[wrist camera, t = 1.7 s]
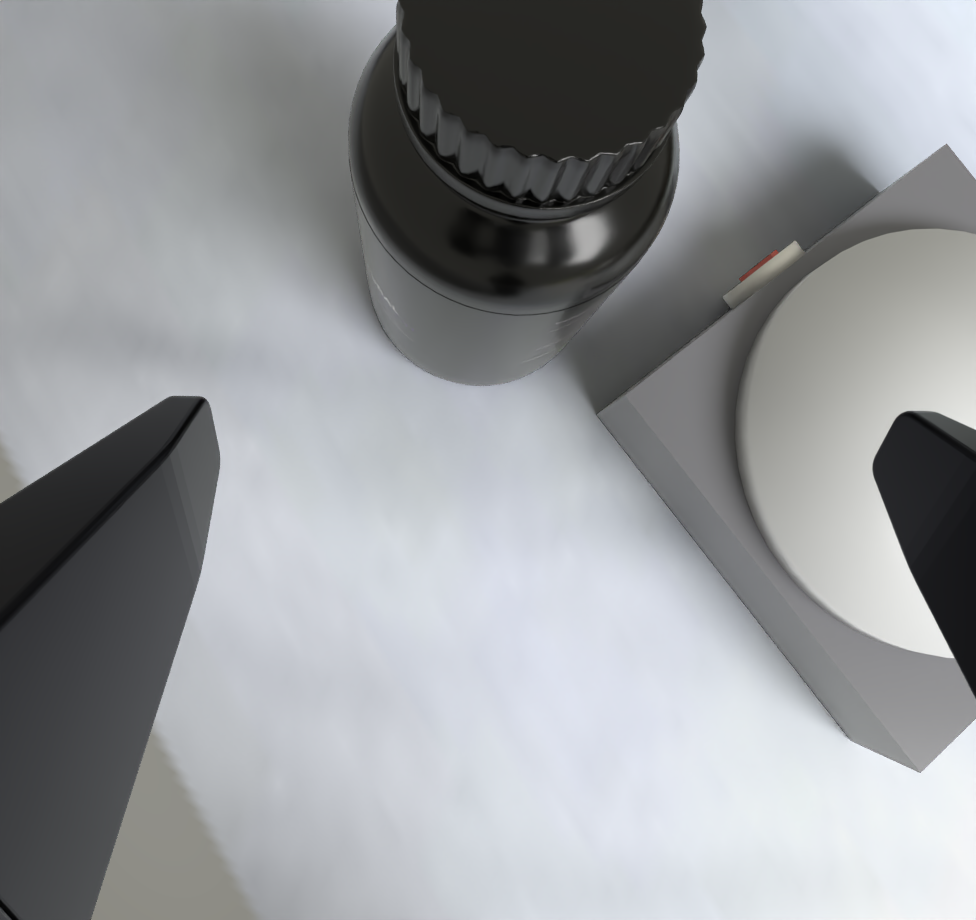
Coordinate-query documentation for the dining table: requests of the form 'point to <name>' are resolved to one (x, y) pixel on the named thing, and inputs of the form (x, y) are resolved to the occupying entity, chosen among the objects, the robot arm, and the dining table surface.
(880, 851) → the dining table surface
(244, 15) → the dining table surface
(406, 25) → the supplement bottle
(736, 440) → the kitchen scale
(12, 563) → the robot arm
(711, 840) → the dining table surface
